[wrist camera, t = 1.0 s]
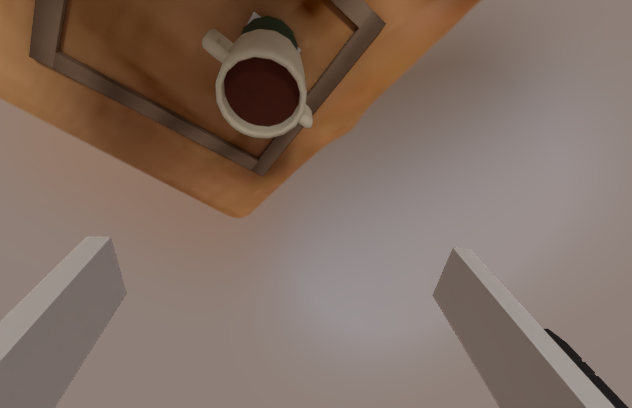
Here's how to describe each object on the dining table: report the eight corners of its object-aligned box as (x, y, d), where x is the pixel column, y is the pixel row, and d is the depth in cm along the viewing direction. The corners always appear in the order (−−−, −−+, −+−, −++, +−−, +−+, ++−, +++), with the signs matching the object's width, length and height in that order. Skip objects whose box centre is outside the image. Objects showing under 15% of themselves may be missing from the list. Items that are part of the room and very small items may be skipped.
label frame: (32, 54, 30) (29, 56, 30) (74, -302, 17) (69, -308, 17) (263, 173, 43) (262, 176, 43) (384, 22, 31) (385, 23, 30)
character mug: (206, 38, 30) (171, 88, 21) (244, -26, 27) (222, 1, 18) (287, 102, 36) (287, 164, 27) (326, 57, 32) (342, 110, 23)
